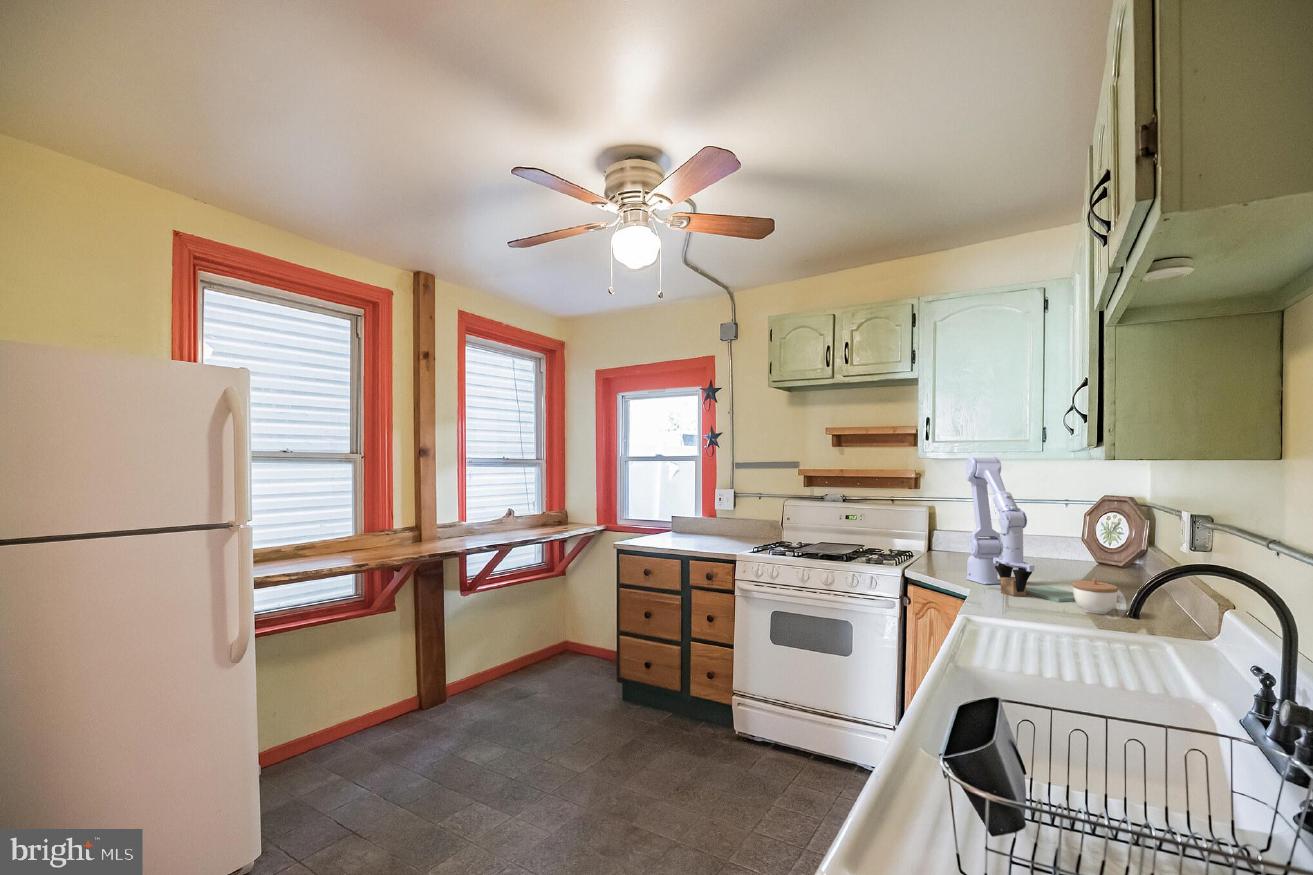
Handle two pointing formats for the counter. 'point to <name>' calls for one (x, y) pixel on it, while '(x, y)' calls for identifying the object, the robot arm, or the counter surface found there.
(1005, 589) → the walnut block
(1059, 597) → the sage board
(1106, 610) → the lidded jar
